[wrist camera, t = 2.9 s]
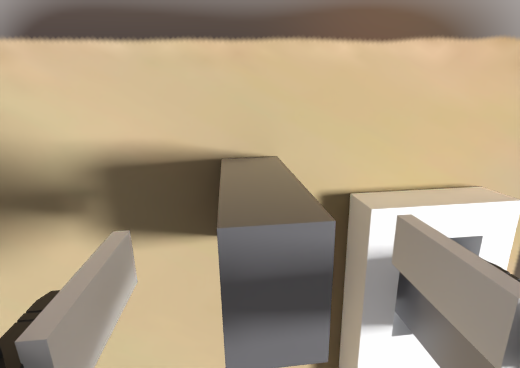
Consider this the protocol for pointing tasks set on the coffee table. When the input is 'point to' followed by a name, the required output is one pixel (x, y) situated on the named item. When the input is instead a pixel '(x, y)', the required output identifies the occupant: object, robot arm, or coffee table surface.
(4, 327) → the coffee table surface
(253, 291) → the grey rectangular block
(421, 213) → the socket strip
